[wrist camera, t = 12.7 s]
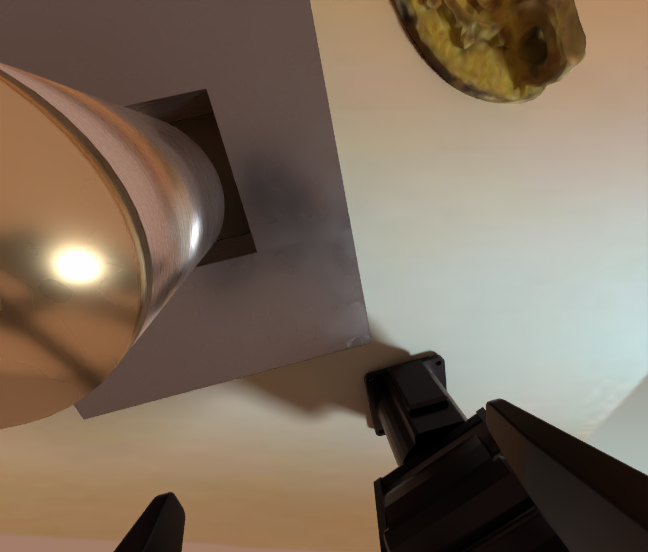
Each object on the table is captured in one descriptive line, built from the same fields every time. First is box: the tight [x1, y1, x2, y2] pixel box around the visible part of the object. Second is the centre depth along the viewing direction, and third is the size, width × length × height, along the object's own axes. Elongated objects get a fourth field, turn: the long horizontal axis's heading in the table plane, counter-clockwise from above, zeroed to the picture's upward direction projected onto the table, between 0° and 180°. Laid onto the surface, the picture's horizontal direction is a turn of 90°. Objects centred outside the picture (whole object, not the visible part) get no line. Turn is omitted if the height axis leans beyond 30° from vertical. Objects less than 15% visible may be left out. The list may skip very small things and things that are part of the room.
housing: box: [0, 0, 372, 419], centre depth 15 cm, size 20×16×5 cm
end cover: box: [0, 62, 225, 429], centre depth 8 cm, size 6×6×8 cm
